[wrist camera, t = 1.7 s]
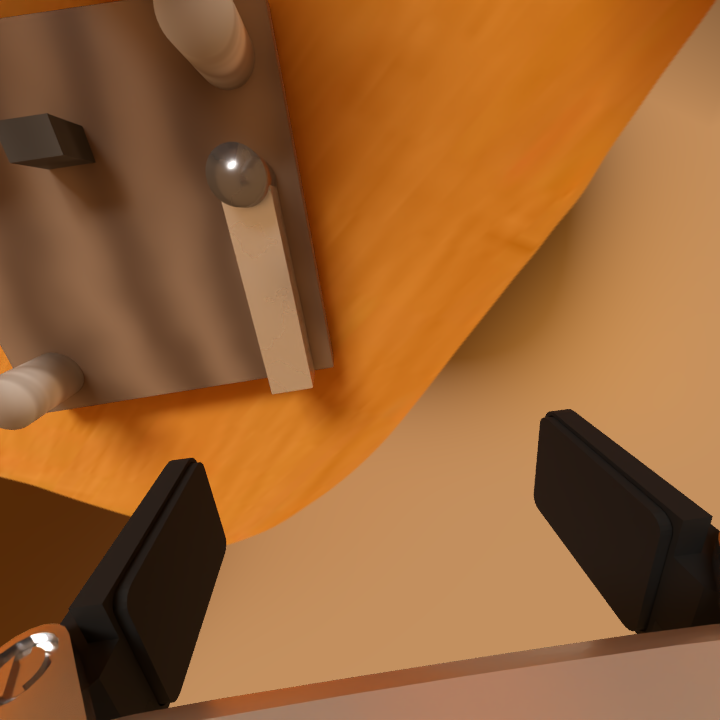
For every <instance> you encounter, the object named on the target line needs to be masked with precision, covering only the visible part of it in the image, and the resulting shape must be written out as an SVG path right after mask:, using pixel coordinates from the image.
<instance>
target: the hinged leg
mask: <svg viewBox="0 0 720 720" xmlns="http://www.w3.org/2000/svg"><path fill="white" fill-rule="evenodd" d="M205 172H206V179H207V182H208V185H209V187H210V189H211V191H212V192H213V194H214V195H215V196H216V197H217V198H218V199H219V200H220V201H221V202H222V206H223V210H224V213H225V217H226V221H227V225H228V229H229V232H230V236H231V240H232V244H233V248H234V251H235V255H236V259H237V263H238V267H239V270H240V274H241V278H242V282H243V286H244V289H245V293H246V297H247V301H248V305H249V308H250V312H251V316H252V320H253V324H254V327H255V331H256V335H257V339H258V343H259V346H260V350H261V354H262V358H263V362H264V365H265V369H266V373H267V377H268V381H269V384H270V388H271V392H272V394H277V393H284V392H290V391H296V390H302V389H309V388H313V384H314V375H315V369H314V365H313V360H312V355H311V350H310V345H309V340H308V336H307V331H306V326H305V321H304V316H303V312H302V307H301V302H300V297H299V292H298V287H297V283H296V278H295V273H294V268H293V263H292V259H291V254H290V249H289V244H288V239H287V235H286V230H285V225H284V220H283V215H282V210H281V206H280V201H279V196H278V191H277V179H276V175H275V173H274V171H273V169H272V167H271V166H270V165H269V164H268V163H267V162H266V161H265V160H264V159H263V158H261V157H260V156H259V155H258V154H257V153H255V152H254V151H253V150H252V149H251V148H249V147H248V146H246V145H244V144H241V143H238V142H226V143H222V144H220V145H218V146H217V147H215V148H214V149H213V150H212V152H211V153H210V155H209V156H208V159H207V162H206V168H205Z"/></svg>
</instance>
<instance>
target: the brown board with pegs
mask: <svg viewBox="0 0 720 720" xmlns="http://www.w3.org/2000/svg"><path fill="white" fill-rule="evenodd" d="M226 142H238V143H241V144H244V145H246V146H248V147H249V148H251V149H252V150H253V151H254V152H255V153H257V154H258V155H259V156H260V157H261V158H263V159H264V160H265V161H266V162H267V163H268V164H269V165H270V166H271V167H272V169H273V171H274V173H275V175H276V179H277V191H278V196H279V201H280V206H281V210H282V215H283V220H284V225H285V230H286V235H287V239H288V244H289V249H290V254H291V259H292V263H293V268H294V273H295V278H296V283H297V287H298V292H299V297H300V302H301V307H302V312H303V316H304V321H305V326H306V331H307V336H308V340H309V345H310V350H311V355H312V360H313V365H314V369H315V370H318V369H325V368H331V367H333V351H332V346H331V340H330V335H329V330H328V324H327V319H326V313H325V308H324V302H323V297H322V291H321V286H320V281H319V275H318V270H317V264H316V259H315V253H314V248H313V242H312V237H311V231H310V226H309V221H308V215H307V210H306V204H305V199H304V193H303V188H302V182H301V177H300V172H299V166H298V161H297V155H296V150H295V144H294V139H293V133H292V128H291V123H290V117H289V112H288V106H287V101H286V95H285V90H284V84H283V79H282V73H281V68H280V63H279V57H278V52H277V46H276V41H275V35H274V30H273V24H272V19H271V14H270V8H269V3H268V0H122V1H116V2H109V3H102V4H95V5H88V6H81V7H75V8H68V9H61V10H54V11H47V12H40V13H34V14H27V15H20V16H13V17H6V18H0V345H1V347H2V349H3V351H4V352H5V354H6V356H7V358H8V360H9V362H10V363H11V365H12V367H13V369H11V370H9V371H7V372H5V373H2V374H0V428H3V429H9V430H17V429H22V428H24V427H26V426H28V425H29V424H31V423H32V422H34V421H35V420H37V419H38V418H40V417H41V416H43V415H44V414H46V413H48V412H54V411H61V410H67V409H73V408H80V407H86V406H92V405H98V404H105V403H111V402H117V401H124V400H130V399H136V398H142V397H149V396H155V395H161V394H168V393H174V392H180V391H186V390H193V389H199V388H205V387H212V386H218V385H224V384H230V383H237V382H243V381H249V380H255V379H262V378H268V377H267V373H266V369H265V365H264V362H263V358H262V354H261V350H260V346H259V343H258V339H257V335H256V331H255V327H254V324H253V320H252V316H251V312H250V308H249V305H248V301H247V297H246V293H245V289H244V286H243V282H242V278H241V274H240V270H239V267H238V263H237V259H236V255H235V251H234V248H233V244H232V240H231V236H230V232H229V229H228V225H227V221H226V217H225V213H224V210H223V206H222V202H221V201H220V200H219V199H218V198H217V197H216V196H215V195H214V194H213V192H212V191H211V189H210V187H209V185H208V182H207V179H206V172H205V168H206V162H207V159H208V156H209V155H210V153H211V152H212V150H213V149H214V148H215V147H217V146H218V145H220V144H222V143H226Z"/></svg>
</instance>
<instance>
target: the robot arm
mask: <svg viewBox="0 0 720 720" xmlns="http://www.w3.org/2000/svg"><path fill="white" fill-rule="evenodd" d="M534 500H535V503H536V506H537V508H538V509H539V511H540V512H541V513H542V514H543V516H544V517H545V519H546V520H547V521H548V523H549V524H550V526H551V527H552V528H553V530H554V531H555V532H556V534H557V535H558V536H559V538H560V539H561V540H562V542H563V543H564V544H565V546H566V547H567V549H568V550H569V551H570V552H571V554H572V555H573V557H574V558H575V559H576V561H577V562H578V564H579V565H580V566H581V568H582V569H583V570H584V572H585V573H586V574H587V576H588V577H589V578H590V580H591V581H592V583H593V584H594V585H595V587H596V588H597V589H598V591H599V592H600V593H601V595H602V596H603V597H604V599H605V600H606V602H607V603H608V604H609V606H610V607H611V608H612V610H613V611H614V612H615V614H616V615H617V617H618V618H619V619H620V620H621V622H622V623H623V624H624V626H625V627H626V628H628V629H629V630H631V631H635V632H636V633H637V634H634V635H627V636H621V637H614V638H608V639H600V640H593V641H587V642H580V643H573V644H567V645H560V646H553V647H546V648H540V649H533V650H527V651H520V652H513V653H506V654H500V655H493V656H487V657H480V658H474V659H468V660H461V661H454V662H448V663H442V664H435V665H428V666H422V667H416V668H409V669H403V670H396V671H390V672H383V673H377V674H370V675H364V676H358V677H351V678H345V679H339V680H333V681H327V682H321V683H314V684H308V685H302V686H296V687H289V688H283V689H277V690H271V691H265V692H259V693H252V694H247V695H240V696H234V697H227V698H222V699H216V700H210V701H205V702H199V703H194V704H189V705H183V706H177V707H172V708H168V707H169V704H170V703H172V702H175V701H176V700H177V698H178V696H179V694H180V691H181V688H182V685H183V682H184V679H185V676H186V673H187V670H188V667H189V664H190V660H191V657H192V654H193V651H194V648H195V645H196V642H197V639H198V635H199V632H200V629H201V626H202V623H203V620H204V617H205V614H206V610H207V607H208V604H209V601H210V598H211V595H212V592H213V589H214V586H215V582H216V579H217V576H218V573H219V570H220V566H221V564H222V561H223V557H224V554H225V550H226V537H225V534H224V531H223V527H222V524H221V521H220V517H219V514H218V511H217V508H216V504H215V501H214V498H213V494H212V491H211V488H210V485H209V481H208V478H207V475H206V472H205V468H204V466H203V464H202V463H201V462H199V463H197V461H196V460H195V459H194V458H187V459H179V460H172V461H170V462H169V463H168V464H167V465H166V466H165V468H164V469H163V471H162V472H161V474H160V475H159V477H158V478H157V480H156V481H155V483H154V484H153V486H152V487H151V488H150V490H149V491H148V493H147V494H146V496H145V497H144V499H143V500H142V502H141V503H140V505H139V506H138V508H137V509H136V510H135V512H134V513H133V515H132V516H131V518H130V519H129V521H128V522H127V524H126V525H125V527H124V528H123V530H122V531H121V532H120V534H119V535H118V537H117V539H116V540H115V541H114V543H113V544H112V546H111V547H110V549H109V550H108V552H107V553H106V555H105V556H104V558H103V559H102V560H101V562H100V563H99V565H98V566H97V568H96V569H95V571H94V572H93V574H92V575H91V576H90V578H89V579H88V581H87V582H86V584H85V585H84V587H83V588H82V590H81V591H80V593H79V594H78V596H77V597H76V598H75V600H74V602H73V603H72V604H71V606H70V607H69V612H68V613H67V615H66V616H65V618H64V619H63V621H62V622H61V624H60V625H59V624H45V625H41V626H39V627H35V628H32V629H30V630H28V631H26V632H24V633H22V634H20V635H18V636H16V637H15V638H13V639H12V640H10V641H9V642H7V643H6V644H5V645H3V646H2V647H0V720H720V531H719V530H718V529H716V528H715V527H714V526H713V525H711V524H710V523H711V520H712V516H711V515H710V514H709V513H707V512H706V511H705V510H703V509H702V508H701V507H699V506H698V505H697V504H695V503H694V502H693V501H691V500H690V499H689V498H688V497H686V496H685V495H684V494H682V493H681V492H680V491H678V490H677V489H676V488H674V487H673V486H672V485H670V484H669V483H668V482H667V481H665V480H664V479H663V478H661V477H660V476H659V475H657V474H656V473H655V472H653V471H652V470H651V469H649V468H648V467H647V466H645V465H644V464H643V463H641V462H640V461H639V460H638V459H636V458H635V457H634V456H632V455H631V454H630V453H628V452H627V451H626V450H624V449H623V448H622V447H620V446H619V445H618V444H616V443H615V442H614V441H612V440H611V439H610V438H609V437H607V436H606V435H605V434H603V433H602V432H601V431H599V430H598V429H597V428H595V427H594V426H592V424H590V423H589V422H587V421H586V420H585V419H584V418H582V417H581V416H579V415H578V414H577V413H576V412H574V411H573V410H571V409H566V410H558V411H551V412H548V413H547V414H546V416H545V418H542V419H541V421H540V431H539V441H538V452H537V463H536V475H535V486H534Z"/></svg>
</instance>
